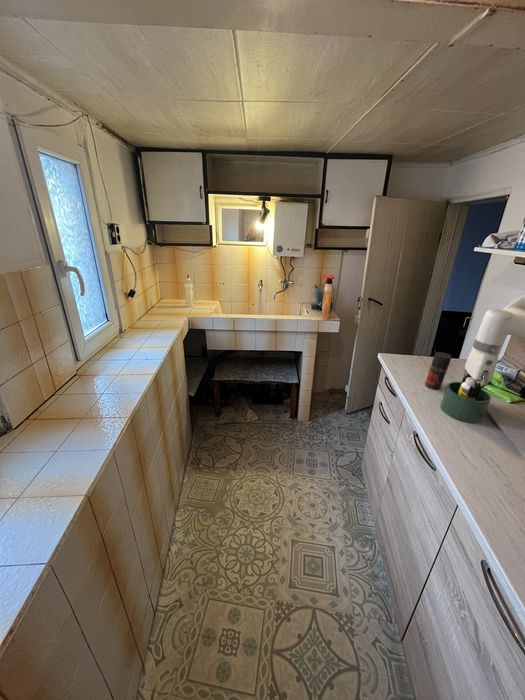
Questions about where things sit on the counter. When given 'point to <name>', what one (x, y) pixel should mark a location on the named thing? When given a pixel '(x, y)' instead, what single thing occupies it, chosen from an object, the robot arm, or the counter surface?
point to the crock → (464, 404)
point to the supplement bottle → (466, 388)
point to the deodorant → (437, 370)
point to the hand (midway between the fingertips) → (468, 391)
